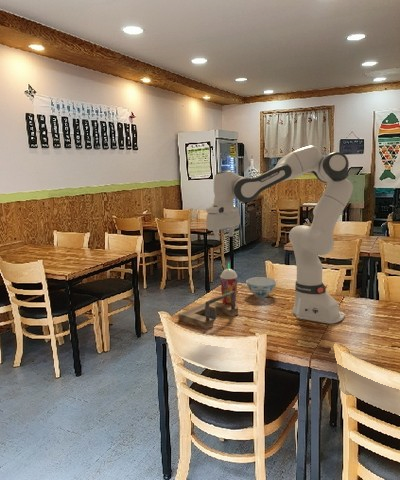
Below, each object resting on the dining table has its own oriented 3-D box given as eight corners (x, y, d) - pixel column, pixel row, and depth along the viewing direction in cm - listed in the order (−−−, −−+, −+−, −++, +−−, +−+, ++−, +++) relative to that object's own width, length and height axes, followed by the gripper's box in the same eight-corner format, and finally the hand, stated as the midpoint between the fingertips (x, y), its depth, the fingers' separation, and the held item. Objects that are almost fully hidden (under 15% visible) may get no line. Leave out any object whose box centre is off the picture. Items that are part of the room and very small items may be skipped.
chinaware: (280, 293, 211) (280, 279, 209) (269, 302, 198) (269, 287, 197) (253, 289, 219) (253, 275, 217) (241, 297, 206) (241, 283, 205)
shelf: (237, 313, 184) (237, 290, 182) (206, 329, 168) (205, 303, 166) (211, 306, 195) (210, 283, 193) (178, 320, 179) (177, 295, 176)
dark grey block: (218, 317, 181) (218, 305, 180) (211, 320, 177) (211, 308, 176) (209, 314, 184) (209, 302, 183) (202, 318, 181) (202, 306, 180)
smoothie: (240, 301, 201) (239, 262, 197) (234, 306, 193) (233, 266, 189) (224, 299, 204) (223, 260, 200) (218, 304, 197) (217, 264, 193)
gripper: (232, 204, 191) (232, 233, 193) (203, 209, 176) (204, 240, 178) (243, 205, 187) (243, 235, 189) (214, 210, 172) (215, 242, 174)
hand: (224, 237), depth 184 cm, fingers open, 8 cm apart
